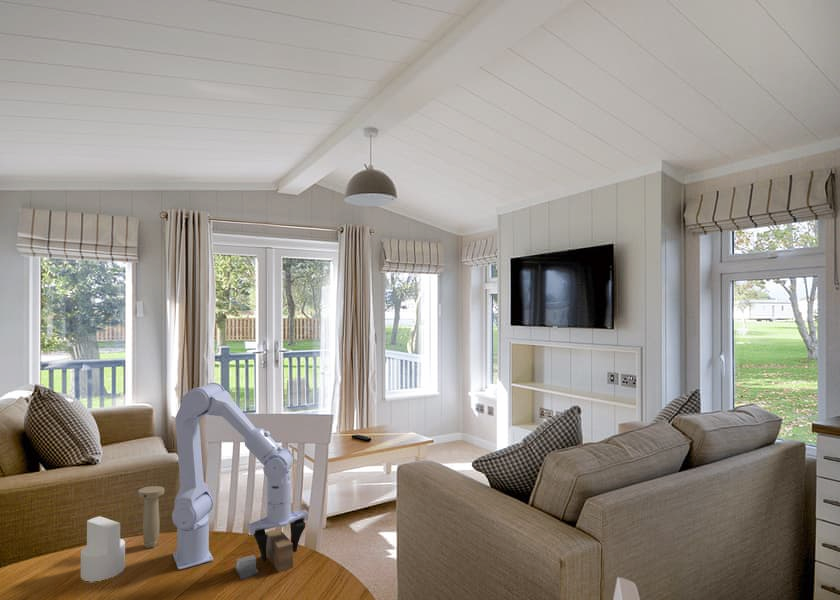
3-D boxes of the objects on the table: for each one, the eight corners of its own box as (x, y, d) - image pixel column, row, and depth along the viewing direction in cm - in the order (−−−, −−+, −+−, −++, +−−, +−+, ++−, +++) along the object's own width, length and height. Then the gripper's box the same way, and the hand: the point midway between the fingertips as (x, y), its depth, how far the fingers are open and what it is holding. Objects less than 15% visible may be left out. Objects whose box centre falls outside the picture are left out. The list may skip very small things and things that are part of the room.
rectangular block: (265, 555, 126) (265, 532, 126) (279, 551, 128) (279, 528, 128) (278, 572, 118) (278, 547, 118) (292, 568, 120) (292, 543, 120)
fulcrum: (234, 568, 120) (234, 555, 120) (251, 563, 122) (251, 551, 122) (241, 579, 115) (241, 566, 115) (258, 574, 117) (258, 561, 117)
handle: (155, 551, 129) (155, 493, 129) (133, 549, 130) (134, 492, 130) (168, 542, 133) (168, 486, 134) (146, 540, 134) (146, 485, 135)
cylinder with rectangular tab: (72, 576, 117) (72, 525, 117) (111, 559, 125) (111, 511, 125) (94, 586, 113) (94, 533, 113) (133, 567, 121) (133, 518, 121)
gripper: (254, 512, 116) (254, 570, 116) (312, 498, 124) (312, 553, 124) (246, 502, 122) (246, 558, 122) (302, 490, 130) (302, 542, 130)
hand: (279, 554), depth 123 cm, fingers open, 7 cm apart
